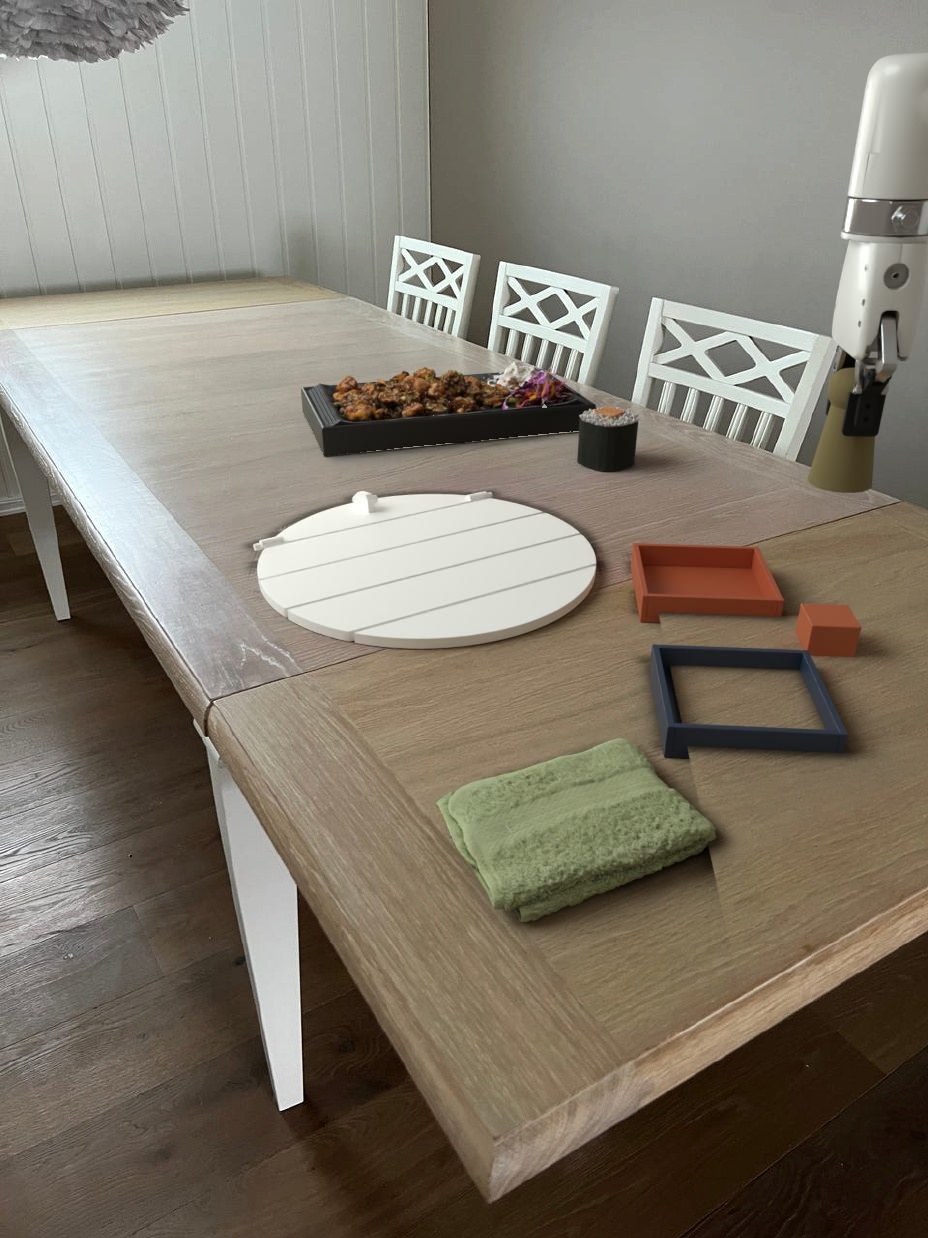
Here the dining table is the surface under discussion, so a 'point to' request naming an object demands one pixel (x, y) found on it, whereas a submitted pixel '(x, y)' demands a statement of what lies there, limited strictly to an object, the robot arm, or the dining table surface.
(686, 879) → the dining table surface
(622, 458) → the sushi
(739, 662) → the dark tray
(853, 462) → the olive pawn
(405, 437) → the food platter
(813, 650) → the terracotta block
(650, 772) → the washcloth
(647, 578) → the terracotta tray
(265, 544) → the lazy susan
